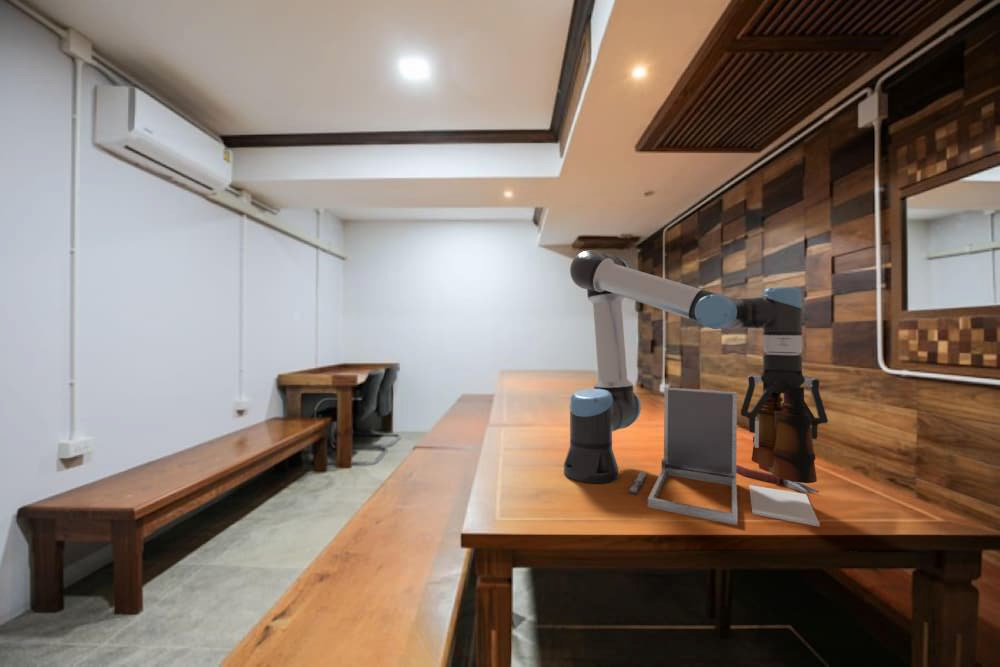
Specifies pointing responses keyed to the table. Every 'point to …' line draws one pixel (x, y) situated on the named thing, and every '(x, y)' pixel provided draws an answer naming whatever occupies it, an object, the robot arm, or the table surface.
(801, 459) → the binoculars
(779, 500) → the mat
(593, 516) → the table surface
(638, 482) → the rod
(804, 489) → the pliers
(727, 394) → the case
